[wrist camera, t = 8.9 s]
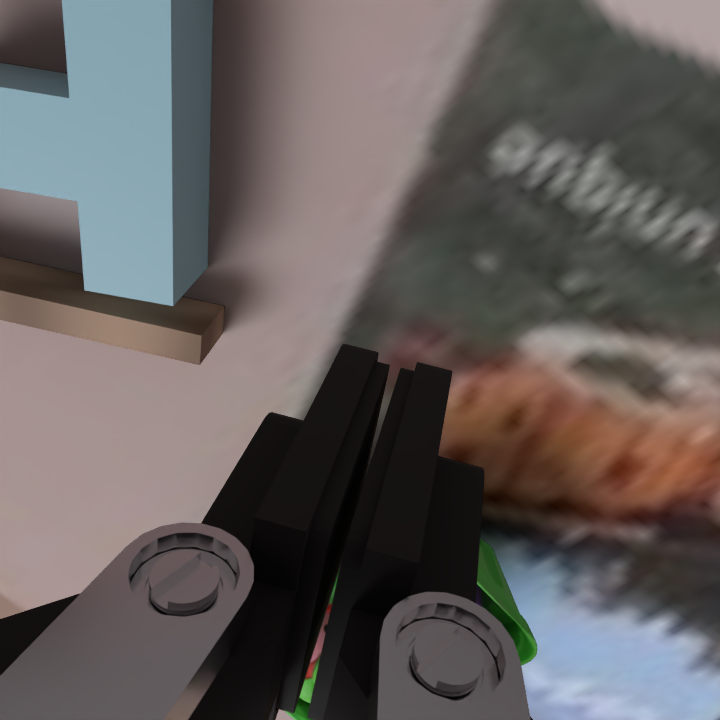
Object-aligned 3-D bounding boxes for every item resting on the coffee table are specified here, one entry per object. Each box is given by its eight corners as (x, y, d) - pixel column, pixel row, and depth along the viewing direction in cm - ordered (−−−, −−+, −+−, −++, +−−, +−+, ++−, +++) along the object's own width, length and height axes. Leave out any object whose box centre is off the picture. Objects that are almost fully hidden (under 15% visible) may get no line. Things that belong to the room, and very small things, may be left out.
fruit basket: (432, 436, 27) (408, 688, 18) (551, 575, 30) (589, 862, 20) (236, 546, 32) (130, 794, 22) (354, 658, 35) (307, 925, 25)
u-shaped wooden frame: (256, -111, 19) (228, -122, 17) (222, 333, 26) (199, 365, 24) (-150, -189, 20) (-227, -210, 18) (-76, 266, 27) (-124, 291, 25)
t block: (213, -7, 21) (170, -5, 18) (207, 267, 25) (172, 306, 22) (-37, -45, 21) (-121, -50, 18) (1, 231, 26) (-61, 264, 23)
